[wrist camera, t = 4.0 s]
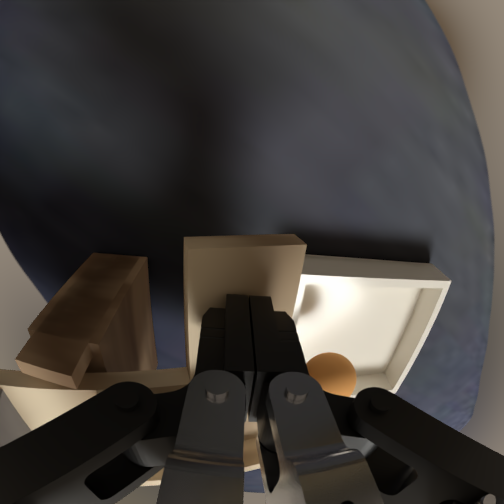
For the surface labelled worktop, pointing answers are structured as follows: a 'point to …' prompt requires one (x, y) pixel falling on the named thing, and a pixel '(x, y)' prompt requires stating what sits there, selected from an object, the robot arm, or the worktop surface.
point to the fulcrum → (94, 324)
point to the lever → (195, 306)
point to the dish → (368, 314)
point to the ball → (333, 373)
